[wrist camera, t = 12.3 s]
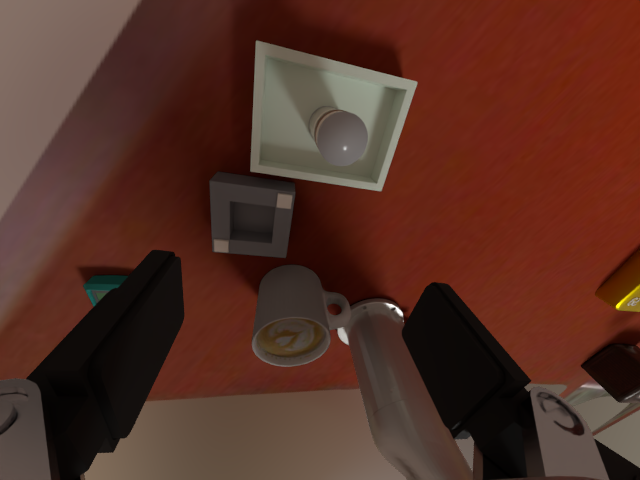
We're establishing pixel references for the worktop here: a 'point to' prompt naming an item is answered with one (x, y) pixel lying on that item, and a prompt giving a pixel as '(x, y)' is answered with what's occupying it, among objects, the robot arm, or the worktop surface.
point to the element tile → (623, 286)
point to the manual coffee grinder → (617, 371)
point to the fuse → (338, 135)
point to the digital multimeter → (102, 286)
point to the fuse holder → (250, 214)
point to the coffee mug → (295, 316)
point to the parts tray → (312, 93)
